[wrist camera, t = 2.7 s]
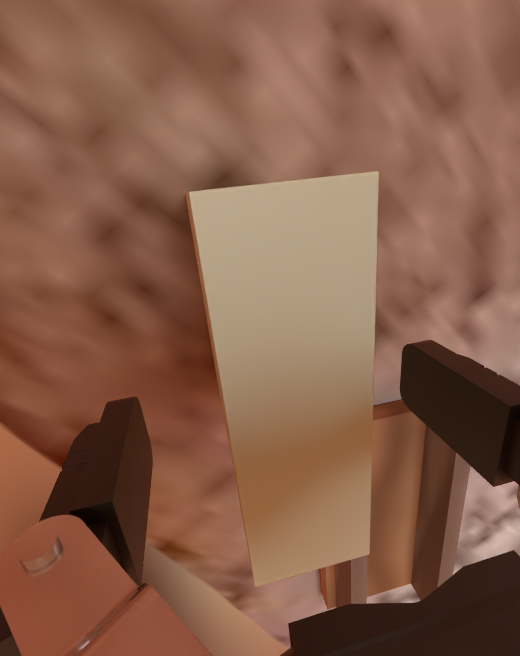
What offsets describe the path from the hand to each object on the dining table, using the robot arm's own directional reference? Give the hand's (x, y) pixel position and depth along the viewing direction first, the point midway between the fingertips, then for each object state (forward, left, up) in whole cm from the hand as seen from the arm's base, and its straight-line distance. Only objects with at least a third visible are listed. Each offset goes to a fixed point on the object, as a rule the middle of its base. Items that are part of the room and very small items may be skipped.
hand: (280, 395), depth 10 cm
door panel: (0, 0, -11) cm, 11 cm away
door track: (-9, +19, -11) cm, 24 cm away
